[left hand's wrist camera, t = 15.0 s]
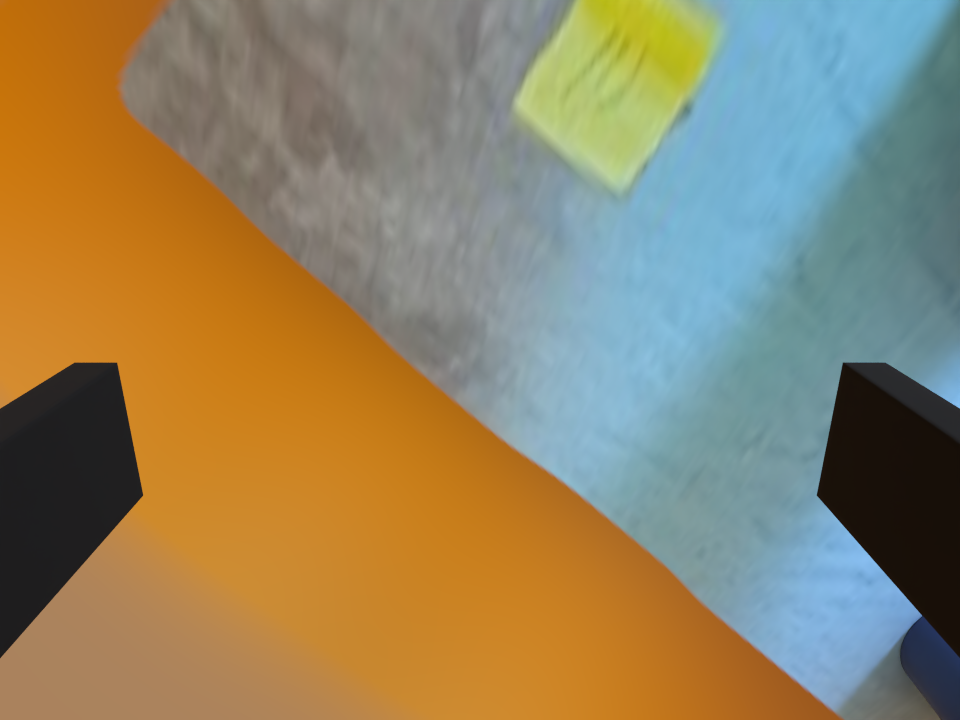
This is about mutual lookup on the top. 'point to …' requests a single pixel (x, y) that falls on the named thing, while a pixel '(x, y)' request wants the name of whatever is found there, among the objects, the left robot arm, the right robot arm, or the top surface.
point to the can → (933, 669)
